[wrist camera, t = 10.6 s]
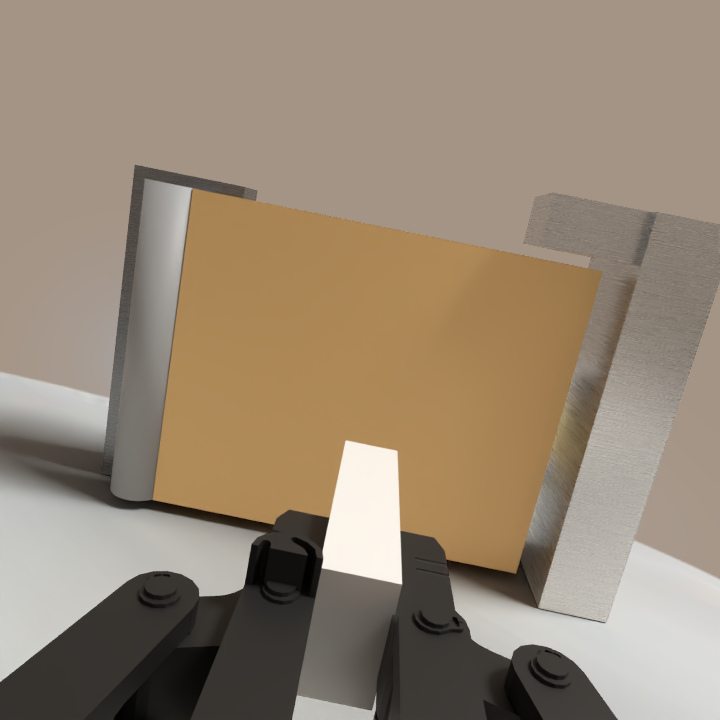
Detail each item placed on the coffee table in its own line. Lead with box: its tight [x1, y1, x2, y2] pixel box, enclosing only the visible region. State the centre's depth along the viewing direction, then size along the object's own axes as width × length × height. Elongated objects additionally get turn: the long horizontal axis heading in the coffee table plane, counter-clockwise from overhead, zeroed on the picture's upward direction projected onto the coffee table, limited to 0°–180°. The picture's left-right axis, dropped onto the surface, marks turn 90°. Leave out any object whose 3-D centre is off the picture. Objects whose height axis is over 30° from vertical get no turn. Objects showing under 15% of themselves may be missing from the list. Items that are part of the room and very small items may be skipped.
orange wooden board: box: [110, 179, 603, 573], centre depth 26 cm, size 19×2×14 cm, turn 88°
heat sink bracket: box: [102, 165, 720, 622], centre depth 28 cm, size 24×8×17 cm, turn 87°
